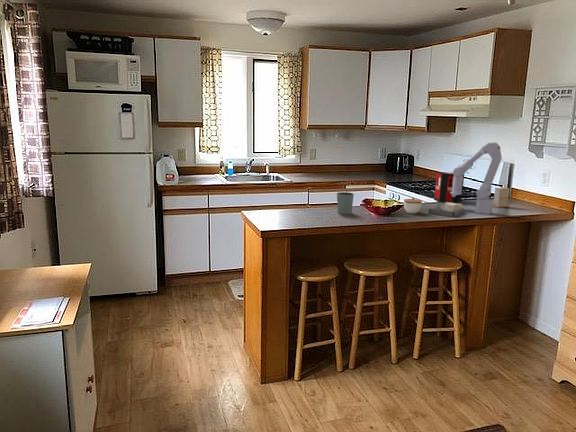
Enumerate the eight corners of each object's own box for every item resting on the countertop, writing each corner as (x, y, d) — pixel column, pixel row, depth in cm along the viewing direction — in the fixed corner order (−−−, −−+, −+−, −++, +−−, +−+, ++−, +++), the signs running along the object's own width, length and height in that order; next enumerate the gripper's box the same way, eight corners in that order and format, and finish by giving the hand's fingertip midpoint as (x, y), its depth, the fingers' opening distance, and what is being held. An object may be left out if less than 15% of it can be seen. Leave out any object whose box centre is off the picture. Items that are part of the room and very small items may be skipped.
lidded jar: (404, 210, 305) (405, 195, 303) (421, 211, 301) (423, 197, 299) (401, 213, 295) (403, 198, 293) (419, 214, 291) (421, 199, 289)
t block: (461, 210, 311) (462, 204, 310) (457, 212, 303) (458, 206, 302) (446, 208, 316) (446, 202, 316) (441, 210, 308) (442, 204, 307)
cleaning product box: (439, 202, 339) (442, 173, 335) (433, 199, 347) (436, 172, 343) (461, 202, 341) (464, 174, 337) (455, 199, 350) (458, 172, 346)
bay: (463, 212, 304) (463, 207, 303) (454, 217, 287) (454, 212, 287) (438, 208, 312) (439, 204, 312) (428, 213, 296) (429, 208, 295)
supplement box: (502, 205, 331) (504, 187, 328) (507, 207, 327) (509, 188, 324) (492, 206, 328) (494, 187, 326) (497, 207, 324) (499, 188, 321)
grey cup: (350, 215, 283) (351, 195, 281) (333, 213, 287) (334, 193, 284) (354, 212, 293) (355, 192, 290) (338, 210, 296) (339, 191, 294)
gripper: (454, 184, 320) (452, 204, 323) (447, 186, 309) (445, 207, 312) (465, 185, 317) (463, 205, 319) (459, 187, 305) (456, 208, 308)
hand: (455, 206), depth 315 cm, fingers closed
